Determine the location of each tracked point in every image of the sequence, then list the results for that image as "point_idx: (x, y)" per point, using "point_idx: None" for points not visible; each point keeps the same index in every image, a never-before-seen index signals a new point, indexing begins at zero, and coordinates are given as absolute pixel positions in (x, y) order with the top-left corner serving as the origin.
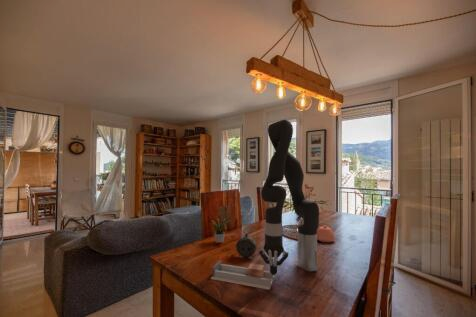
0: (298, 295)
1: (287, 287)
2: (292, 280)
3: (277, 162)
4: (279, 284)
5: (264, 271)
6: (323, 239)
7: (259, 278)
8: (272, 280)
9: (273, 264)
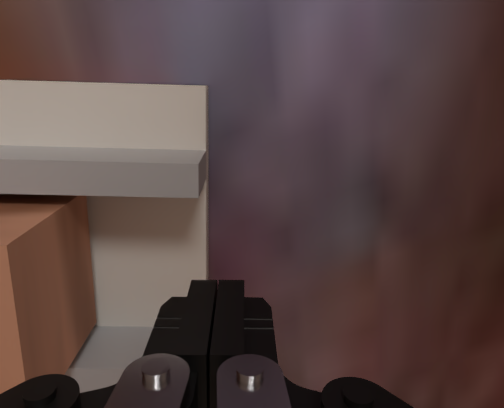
0: (471, 350)
1: (373, 250)
2: (435, 75)
3: None
4: (286, 217)
5: (61, 188)
6: None
7: None
8: (204, 219)
9: (199, 369)
